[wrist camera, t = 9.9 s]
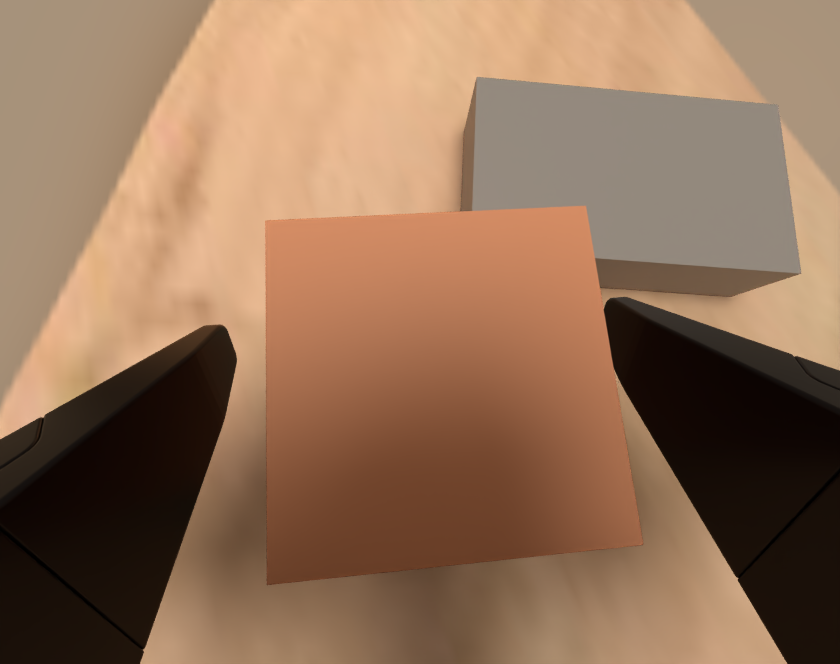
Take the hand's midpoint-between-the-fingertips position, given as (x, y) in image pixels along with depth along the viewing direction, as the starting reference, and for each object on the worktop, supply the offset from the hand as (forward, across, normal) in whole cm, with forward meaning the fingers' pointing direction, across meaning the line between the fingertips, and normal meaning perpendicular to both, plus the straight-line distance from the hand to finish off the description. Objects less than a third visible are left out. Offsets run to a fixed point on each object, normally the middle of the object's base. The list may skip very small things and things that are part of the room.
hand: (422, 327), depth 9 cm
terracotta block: (+3, 0, +5) cm, 6 cm away
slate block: (+9, -9, 0) cm, 12 cm away
